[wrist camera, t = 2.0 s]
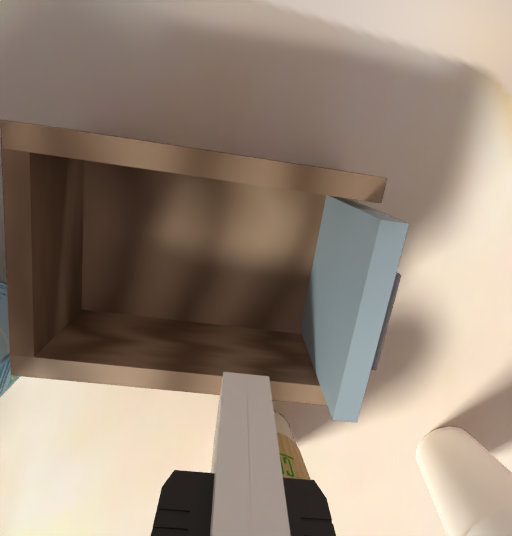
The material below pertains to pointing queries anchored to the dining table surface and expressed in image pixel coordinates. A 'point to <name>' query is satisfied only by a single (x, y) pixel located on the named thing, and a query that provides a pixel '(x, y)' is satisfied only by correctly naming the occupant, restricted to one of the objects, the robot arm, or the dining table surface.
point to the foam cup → (466, 484)
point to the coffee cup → (289, 451)
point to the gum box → (5, 343)
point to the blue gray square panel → (350, 299)
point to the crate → (161, 261)
